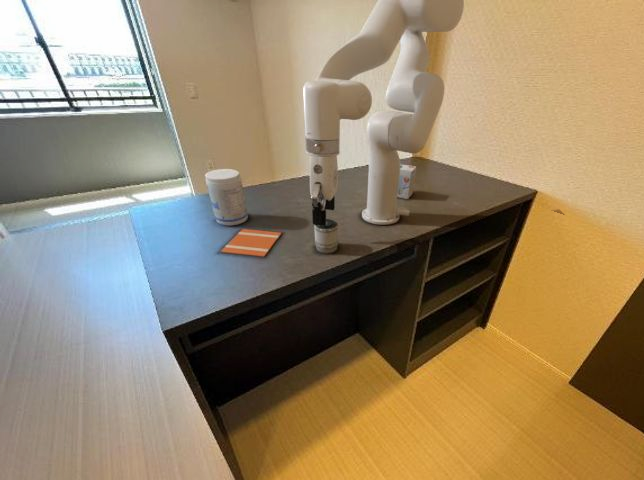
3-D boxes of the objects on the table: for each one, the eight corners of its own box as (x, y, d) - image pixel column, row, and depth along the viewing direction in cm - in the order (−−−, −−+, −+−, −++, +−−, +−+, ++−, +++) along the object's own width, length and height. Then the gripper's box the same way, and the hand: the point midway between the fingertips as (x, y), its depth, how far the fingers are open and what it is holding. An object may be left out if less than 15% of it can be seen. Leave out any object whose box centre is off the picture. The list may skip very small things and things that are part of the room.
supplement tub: (210, 219, 94) (197, 173, 85) (238, 210, 100) (228, 166, 91) (227, 230, 89) (215, 181, 80) (254, 219, 95) (246, 173, 86)
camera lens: (318, 255, 79) (317, 229, 75) (312, 244, 84) (311, 218, 79) (341, 251, 81) (341, 225, 77) (334, 240, 86) (333, 215, 81)
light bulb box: (382, 194, 116) (384, 166, 110) (387, 189, 121) (389, 162, 115) (408, 199, 113) (412, 171, 107) (413, 193, 118) (416, 166, 112)
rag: (281, 233, 88) (281, 232, 88) (264, 257, 78) (264, 255, 78) (243, 229, 89) (242, 228, 89) (220, 252, 79) (220, 251, 79)
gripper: (330, 156, 59) (331, 233, 69) (346, 139, 74) (344, 205, 83) (294, 153, 60) (299, 230, 70) (316, 137, 74) (318, 202, 84)
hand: (324, 216), depth 77 cm, fingers open, 9 cm apart
